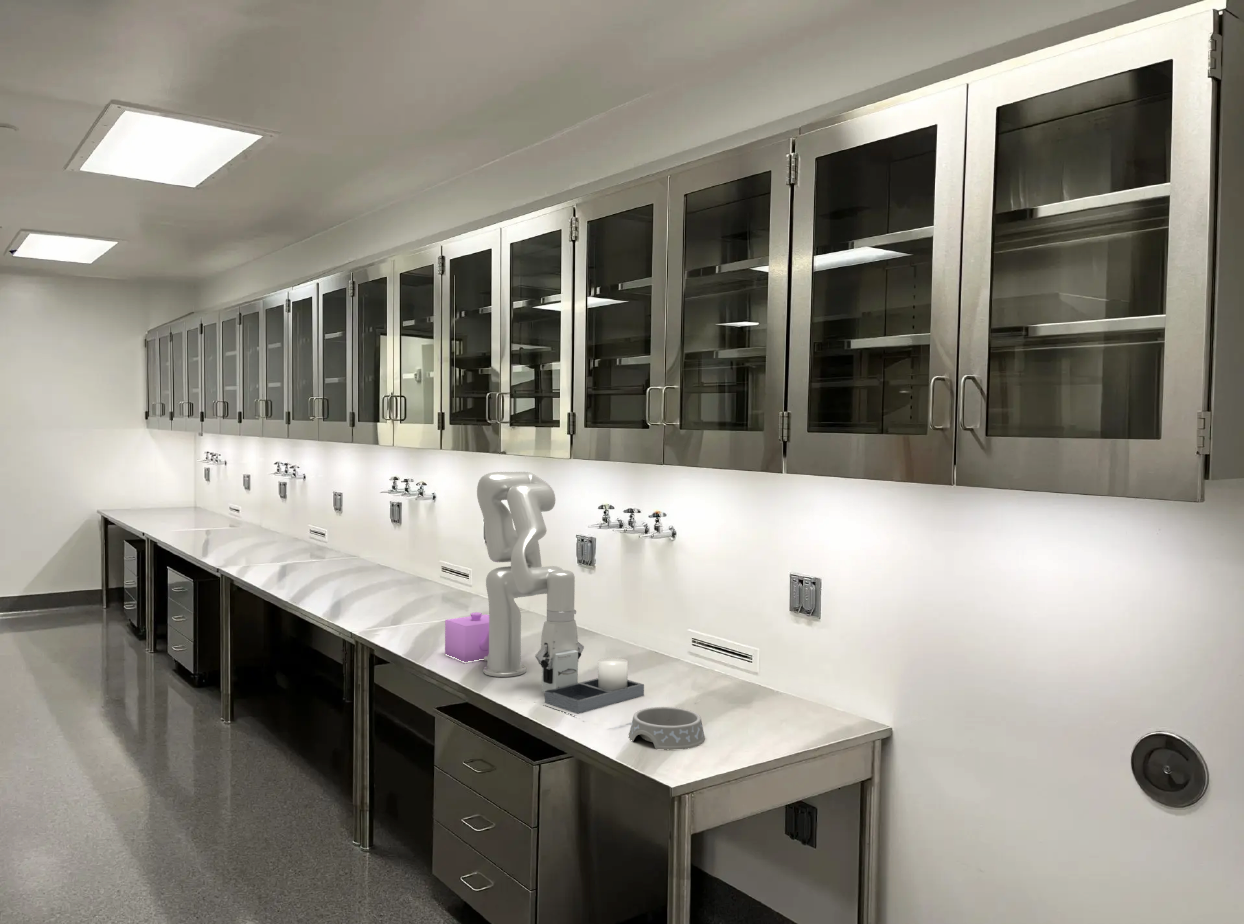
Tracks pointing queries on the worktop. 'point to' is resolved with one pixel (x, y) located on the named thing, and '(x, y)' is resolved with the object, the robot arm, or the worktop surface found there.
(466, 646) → the teapot
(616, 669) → the white rounded cylinder
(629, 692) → the divided grey tray
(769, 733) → the worktop surface
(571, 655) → the supplement box
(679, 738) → the dog bowl
